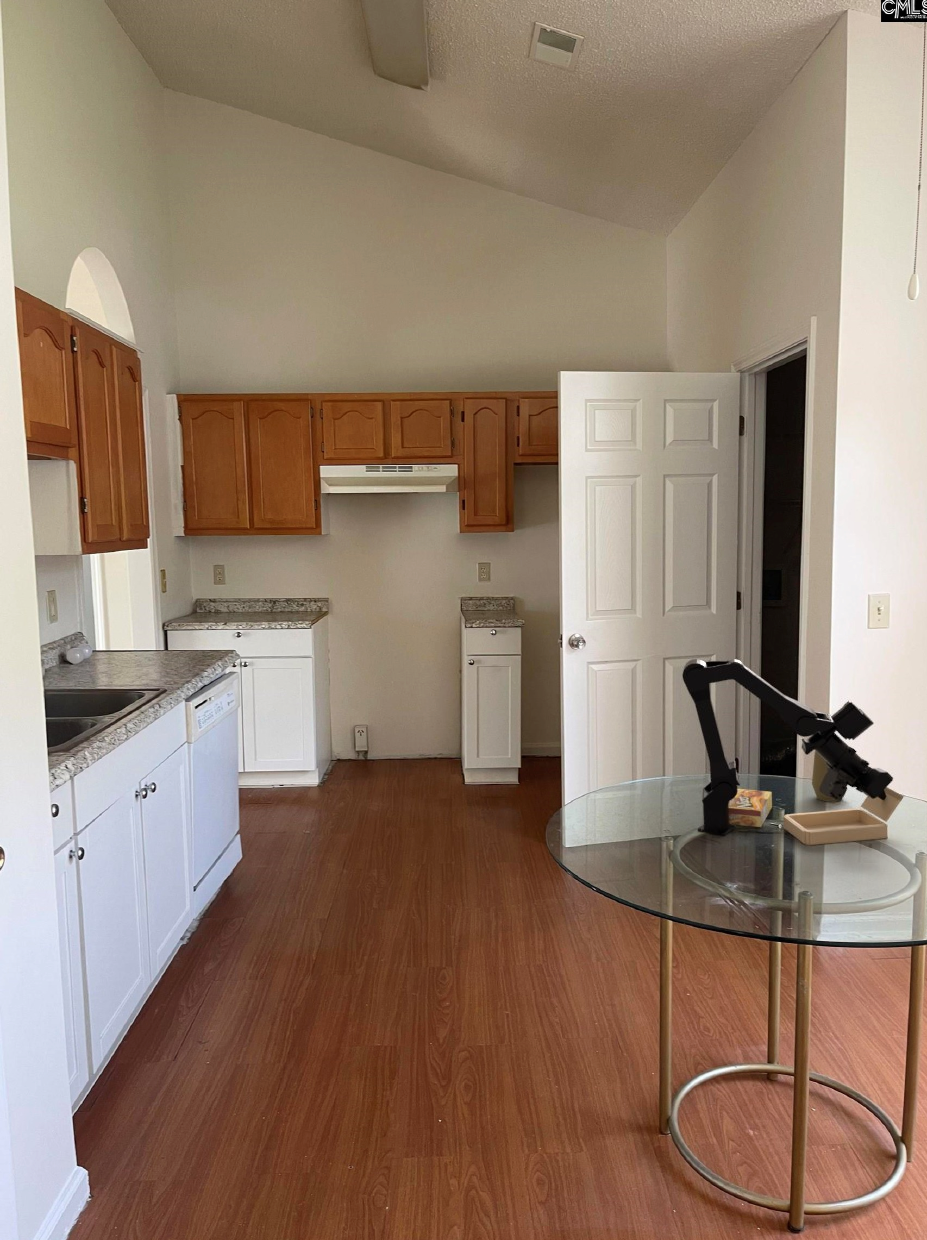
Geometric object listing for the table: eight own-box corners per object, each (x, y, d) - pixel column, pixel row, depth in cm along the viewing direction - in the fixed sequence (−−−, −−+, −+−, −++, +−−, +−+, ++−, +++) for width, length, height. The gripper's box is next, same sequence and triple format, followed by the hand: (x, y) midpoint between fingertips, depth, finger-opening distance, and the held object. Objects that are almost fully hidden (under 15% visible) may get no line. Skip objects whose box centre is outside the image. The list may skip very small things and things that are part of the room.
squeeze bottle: (813, 803, 214) (812, 731, 212) (810, 793, 221) (809, 723, 219) (849, 804, 211) (848, 731, 209) (845, 794, 219) (844, 723, 217)
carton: (805, 846, 187) (805, 832, 187) (781, 827, 199) (781, 814, 199) (888, 838, 188) (888, 825, 188) (859, 820, 200) (859, 807, 200)
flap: (884, 820, 189) (902, 795, 188) (860, 806, 199) (877, 782, 198) (886, 822, 189) (904, 796, 189) (862, 807, 199) (878, 783, 198)
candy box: (735, 803, 217) (722, 824, 203) (734, 787, 216) (721, 807, 203) (772, 807, 212) (761, 828, 199) (772, 790, 212) (760, 810, 199)
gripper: (792, 767, 201) (838, 811, 203) (830, 791, 182) (881, 839, 184) (825, 732, 201) (871, 776, 202) (867, 752, 182) (918, 801, 184)
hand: (884, 798), depth 193 cm, fingers closed, pressing on flap
